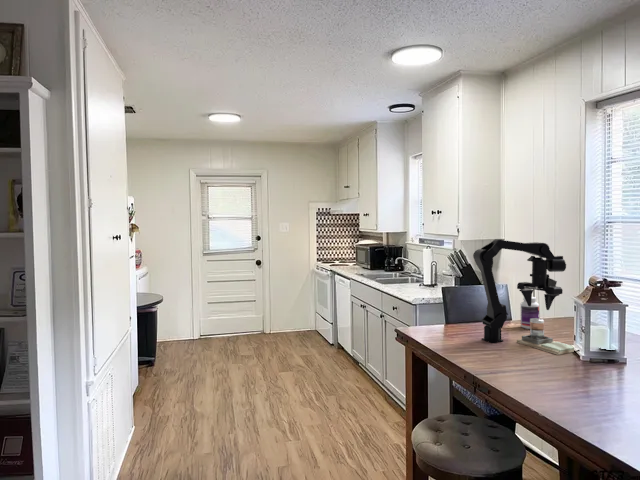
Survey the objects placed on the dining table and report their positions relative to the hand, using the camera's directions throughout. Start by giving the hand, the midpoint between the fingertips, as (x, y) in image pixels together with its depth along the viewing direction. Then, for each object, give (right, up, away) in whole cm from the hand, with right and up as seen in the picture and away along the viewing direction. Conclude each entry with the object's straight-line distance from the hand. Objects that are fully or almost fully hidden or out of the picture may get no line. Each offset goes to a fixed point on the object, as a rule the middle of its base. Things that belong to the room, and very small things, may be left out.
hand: (538, 308), depth 199 cm
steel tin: (-4, -14, -7) cm, 16 cm away
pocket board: (-2, -14, -11) cm, 18 cm away
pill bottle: (+6, -13, +20) cm, 25 cm away
